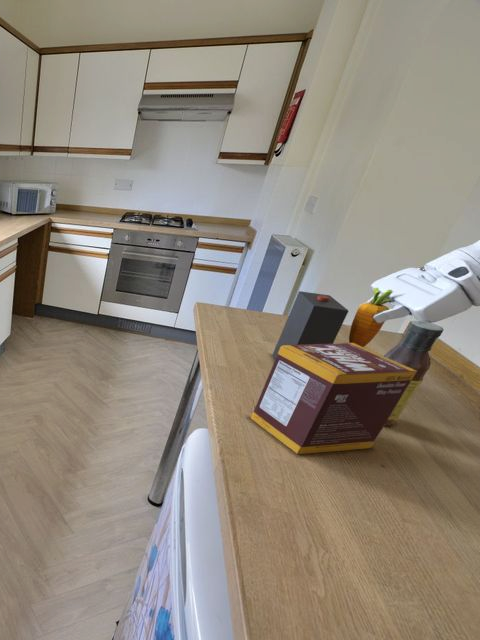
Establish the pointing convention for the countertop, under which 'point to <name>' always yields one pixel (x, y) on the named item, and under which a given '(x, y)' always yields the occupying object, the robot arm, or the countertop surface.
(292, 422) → the supplement box
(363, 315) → the carrot
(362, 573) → the countertop surface
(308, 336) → the box with red knob
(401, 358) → the sauce bottle
